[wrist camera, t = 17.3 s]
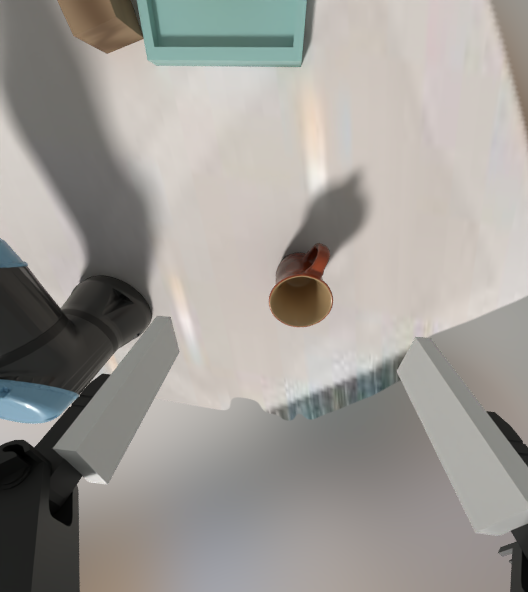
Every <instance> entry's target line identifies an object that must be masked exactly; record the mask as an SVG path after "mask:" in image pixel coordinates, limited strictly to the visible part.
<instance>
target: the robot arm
mask: <svg viewBox="0 0 528 592" xmlns="http://www.w3.org/2000/svg"><path fill="white" fill-rule="evenodd" d="M27 266H28V264H27V263H26V262H24V261H22V260H21V258H20V257H19V256H18V255H17V254H16V253H15V252H14V251H13V250H12V248H11V247H10V246H9V245H8V244H7V243H6V242H5V241H4V240H2V239H1V238H0V418H1V419H6V420H10V421H15V422H22V423H44V422H48V421H51V420H53V419H55V418H57V417H58V416H59V415H60V414H61V413H62V412H63V411H64V410H65V409H66V408H67V407H68V406H69V405H70V404H71V403H72V402H73V401H74V400H75V399H76V400H75V401H74V402H73V403H72V406H71V407H69V408H68V409H67V410H66V412H65V413H64V414H63V415H62V416H61V418H60V419H59V420H58V421H57V422H56V423H55V424H54V426H53V427H52V428H51V429H50V430H49V431H48V433H47V434H46V435H45V436H44V437H43V439H42V440H41V441H40V442H39V443H38V444H37V445H36V446H35V447H33V446H31V445H30V444H29V443H27V442H26V441H24V440H14V441H11V442H8V443H5V444H3V445H1V446H0V592H80V590H79V508H78V507H79V506H78V487H77V483H78V482H79V480H80V479H81V477H82V476H83V477H84V478H85V479H86V480H87V481H88V482H93V483H101V484H108V483H109V481H110V479H111V477H112V476H113V474H114V472H115V470H116V468H117V466H118V465H119V463H120V461H121V459H122V457H123V455H124V454H125V452H126V450H127V448H128V446H129V444H130V442H131V441H132V439H133V437H134V435H135V433H136V431H137V429H138V428H139V426H140V424H141V422H142V420H143V418H144V416H145V415H146V412H147V411H148V409H149V407H150V405H151V404H152V402H153V400H154V398H155V396H156V394H157V392H158V391H159V389H160V387H161V385H162V383H163V381H164V379H165V378H166V376H167V374H168V372H169V370H170V368H171V366H172V365H173V363H174V361H175V359H176V357H177V355H178V353H179V348H178V344H177V340H176V336H175V332H174V329H173V325H172V321H171V317H164V316H157V317H156V318H155V319H154V321H153V322H152V323H151V324H150V321H151V312H150V308H149V306H148V304H147V302H146V301H145V299H144V298H143V297H142V296H141V295H140V294H139V293H138V292H137V291H136V290H135V289H134V288H132V287H131V286H130V285H128V284H126V283H125V282H123V281H120V280H118V279H115V278H112V277H108V276H93V277H90V278H88V279H86V280H85V281H83V282H81V283H80V284H78V285H77V286H76V287H75V288H74V290H73V291H72V293H71V295H70V297H69V298H68V299H67V301H66V302H65V303H64V305H63V306H62V308H61V309H60V307H59V306H58V305H57V304H56V302H55V301H54V300H53V299H52V297H51V296H50V295H49V294H48V292H47V291H46V290H45V289H44V287H43V286H42V285H41V284H40V282H39V281H38V280H37V278H36V277H35V276H34V275H33V273H32V272H31V271H30V269H29V268H28V267H27ZM149 324H150V326H149ZM148 326H149V327H148ZM147 327H148V328H147ZM146 328H147V330H146V331H145V329H146ZM144 331H145V332H144ZM143 332H144V333H143ZM142 333H143V335H142V336H141V337H140V338H139V340H138V341H137V342H136V343H135V345H134V346H133V347H132V349H131V350H130V351H129V352H128V354H127V355H126V356H125V357H124V359H123V360H122V361H121V362H120V364H119V365H118V366H117V368H116V369H115V370H114V371H113V373H112V374H111V375H109V374H101V375H100V376H99V377H97V378H96V379H95V380H93V381H92V382H91V383H90V381H91V380H92V379H93V378H94V377H95V375H96V374H97V373H98V372H99V371H100V369H101V368H102V367H103V366H104V365H105V363H106V362H107V361H108V360H109V359H110V357H111V356H112V355H113V354H114V353H115V352H116V350H117V349H119V348H120V347H122V346H124V345H125V344H127V343H128V342H130V341H131V340H133V339H135V338H137V337H138V336H140V335H141V334H142ZM397 373H398V375H399V377H400V379H401V381H402V383H403V385H404V387H405V389H406V391H407V394H408V395H409V398H410V400H411V402H412V404H413V406H414V408H415V410H416V412H417V414H418V416H419V418H420V420H421V422H422V424H423V426H424V428H425V431H426V432H427V434H428V437H429V439H430V441H431V443H432V445H433V447H434V449H435V451H436V453H437V455H438V457H439V459H440V461H441V463H442V465H443V467H444V469H445V472H446V474H447V476H448V478H449V480H450V482H451V484H452V486H453V488H454V490H455V492H456V494H457V496H458V498H459V500H460V502H461V504H462V507H463V509H464V511H465V513H466V515H467V517H468V519H469V521H470V523H471V525H472V527H473V529H474V531H475V533H481V534H489V535H496V536H500V535H503V534H505V533H507V532H510V531H511V532H512V534H513V536H514V537H515V539H516V541H517V542H514V543H511V544H508V545H506V546H503V547H501V548H500V550H499V552H498V553H499V554H500V555H501V556H506V555H509V554H512V559H511V560H509V562H510V563H511V564H512V568H511V569H512V570H511V589H510V592H528V447H527V446H526V445H525V444H523V441H522V440H521V438H520V437H519V436H518V435H517V433H516V432H515V431H514V430H513V428H512V427H511V426H510V425H509V424H508V423H507V422H505V421H504V420H503V419H502V418H501V417H500V416H498V415H497V414H496V413H495V412H488V411H487V412H486V411H485V409H484V408H483V407H482V405H481V404H480V403H479V401H478V400H477V399H476V397H475V396H474V395H473V394H472V392H471V391H470V390H469V388H468V387H467V386H466V384H465V383H464V382H463V380H462V379H461V378H460V376H459V375H458V374H457V372H456V371H455V370H454V368H453V367H452V366H451V364H450V363H449V362H448V361H447V359H446V358H445V356H444V355H443V354H442V352H441V351H440V350H439V348H438V347H437V346H436V344H435V343H434V342H433V341H432V339H431V338H423V337H415V339H414V341H413V342H412V344H411V346H410V348H409V350H408V352H407V353H406V355H405V357H404V359H403V361H402V363H401V364H400V366H399V368H398V370H397ZM87 385H88V386H87ZM86 386H87V387H86ZM85 387H86V388H85ZM81 392H82V393H81ZM80 393H81V394H80ZM79 395H80V397H79Z"/></svg>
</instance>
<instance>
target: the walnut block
mask: <svg viewBox="0 0 528 592" xmlns="http://www.w3.org/2000/svg"><path fill="white" fill-rule="evenodd" d="M57 1H58V3H59V5H60V7H61V10H62V12H63V14H64V16H65V18H66V20H67V23H68V25H69V27H70V29H71V31H72V33H73V36H75V37H77V38H78V39H80V40H82V41H84V42H86V43H88V44H90V45H92V46H93V47H95V48H97V49H99V50H101V51H103V52H105V53H107V54H108V53H110V52H113V51H115V50H117V49H120V48H122V47H125V46H127V45H130V44H132V43H134V42H137V41H139V40H142V39H144V37H143V34H142V32H141V29H140V26H139V23H138V20H137V17H136V14H135V12H134V9H133V6H132V3H131V0H57Z"/></svg>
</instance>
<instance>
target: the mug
mask: <svg viewBox="0 0 528 592" xmlns="http://www.w3.org/2000/svg"><path fill="white" fill-rule="evenodd" d="M329 257H330V251H329V249H328V247H327V246H325V245H323V244H321V243H317V244H315V245H314V246H313V247H312V248H311V249H310V250H309V251H308V252H307V253H306V254H305V253H293V254H290V255H288V256H287V257H285V258H284V259H283V260H282V261H281V263H280V264H279V266H278V268H277V271H276V285H275V286H274V288H273V289H272V291H271V293H270V296H269V307H270V310H271V312H272V314H273V315H274V316H275V317H276V318H277V319H278V320H279V321H280V322H282V323H284V324H286V325H289V326H293V327H307V326H311V325H314V324H316V323H318V322H320V321H322V320H323V319H324V318H325V317H326V316H327V315H328V314H329V312H330V310H331V308H332V305H333V296H332V292H331V290H330V288H329V287H328V285H327V284H326V283H325V282H324V281H323V279H322V275H323V272H324V269H325V267H326V265H327V263H328V260H329Z"/></svg>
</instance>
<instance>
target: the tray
mask: <svg viewBox="0 0 528 592" xmlns="http://www.w3.org/2000/svg"><path fill="white" fill-rule="evenodd" d="M306 4H307V0H137V5H138V10H139V16H140V21H141V27H142V32H143V37H144V43H145V48H146V54H147V59H148V60H149V61H150V62H152V63H153V64H155V65H156V66H262V67H301V62H302V51H303V39H304V28H305V16H306Z"/></svg>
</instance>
